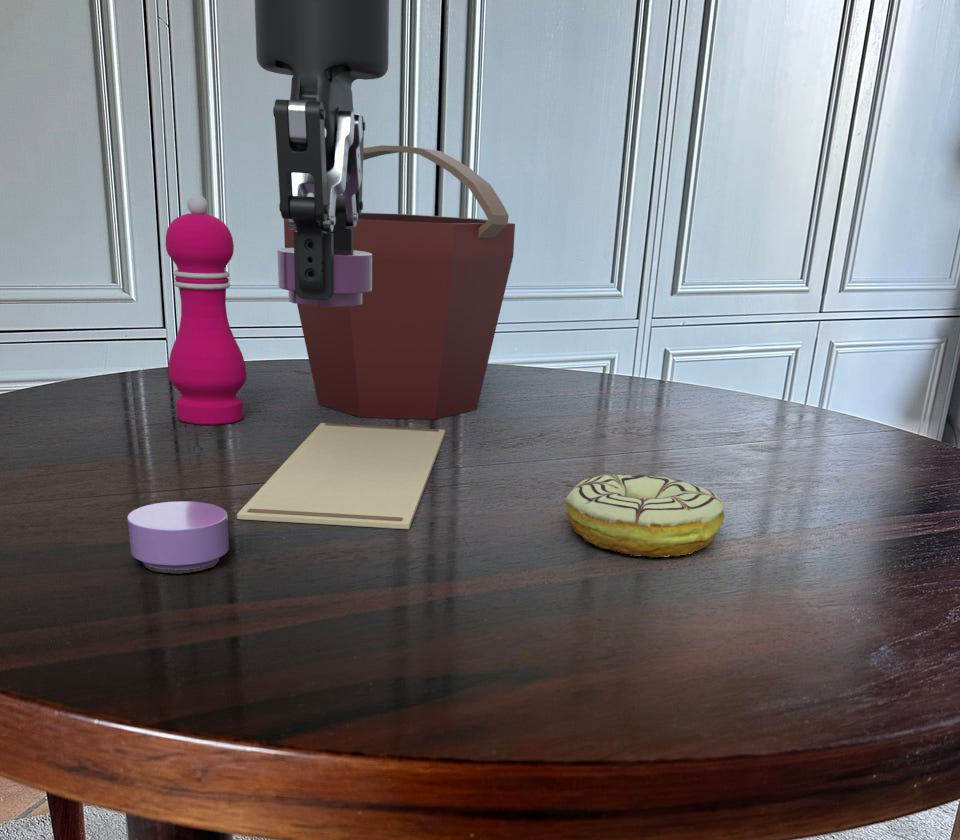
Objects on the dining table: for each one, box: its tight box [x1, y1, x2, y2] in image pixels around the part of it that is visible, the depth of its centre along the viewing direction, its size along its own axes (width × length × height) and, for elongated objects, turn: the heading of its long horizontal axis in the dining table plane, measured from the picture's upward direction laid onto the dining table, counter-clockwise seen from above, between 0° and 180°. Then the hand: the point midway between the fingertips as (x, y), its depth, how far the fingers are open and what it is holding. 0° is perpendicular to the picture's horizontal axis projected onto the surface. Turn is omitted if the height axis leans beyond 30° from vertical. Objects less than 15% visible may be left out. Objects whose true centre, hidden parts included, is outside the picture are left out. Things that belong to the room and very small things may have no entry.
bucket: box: [283, 145, 516, 421], centre depth 106 cm, size 24×22×25 cm
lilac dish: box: [126, 500, 230, 570], centre depth 62 cm, size 6×6×3 cm
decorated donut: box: [564, 474, 725, 558], centre depth 70 cm, size 10×11×4 cm
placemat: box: [236, 422, 446, 530], centre depth 84 cm, size 12×30×1 cm, turn 177°
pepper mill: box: [165, 193, 248, 426], centre depth 95 cm, size 7×7×20 cm
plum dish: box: [277, 247, 373, 307], centre depth 64 cm, size 6×6×3 cm
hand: (325, 292), depth 64 cm, fingers closed on plum dish, 5 cm apart
